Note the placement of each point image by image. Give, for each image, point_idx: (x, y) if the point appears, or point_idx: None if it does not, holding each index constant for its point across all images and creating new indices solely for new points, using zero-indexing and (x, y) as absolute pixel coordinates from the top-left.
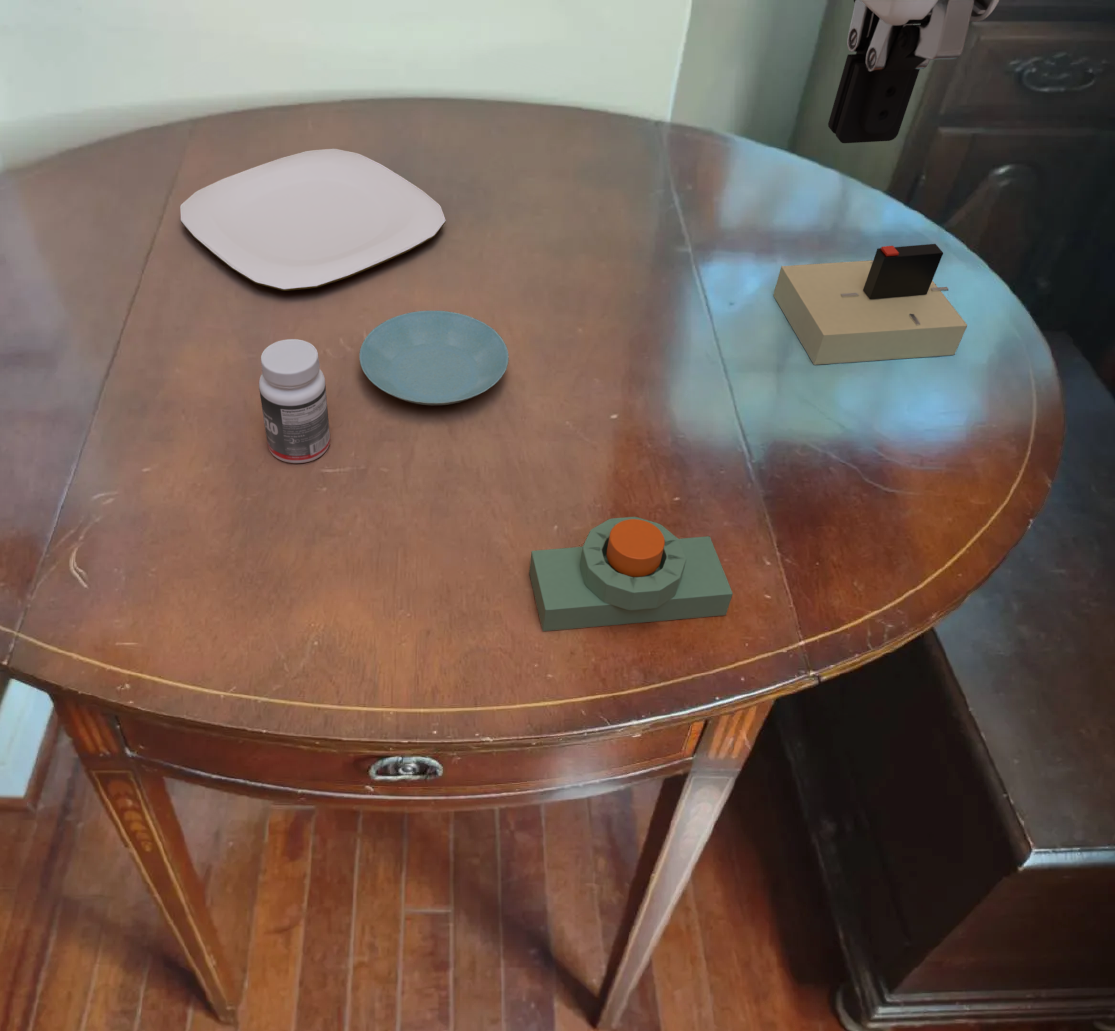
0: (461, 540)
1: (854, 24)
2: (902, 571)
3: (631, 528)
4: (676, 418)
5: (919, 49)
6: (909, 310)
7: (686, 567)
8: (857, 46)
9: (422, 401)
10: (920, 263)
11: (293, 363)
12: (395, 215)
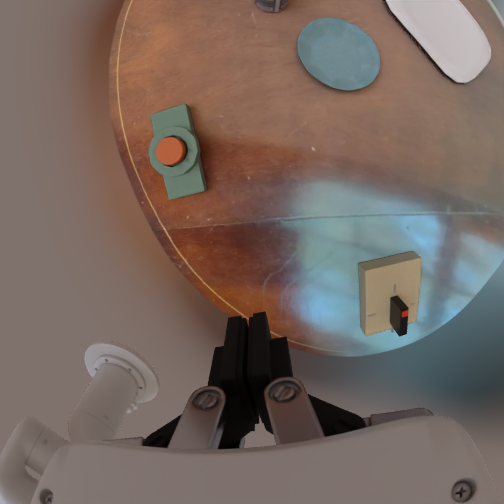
0: (208, 74)
1: (293, 405)
2: (212, 278)
3: (175, 147)
4: (314, 183)
5: (134, 444)
6: (379, 314)
7: (181, 178)
8: (264, 391)
9: (298, 44)
10: (397, 325)
11: None
12: (455, 59)
